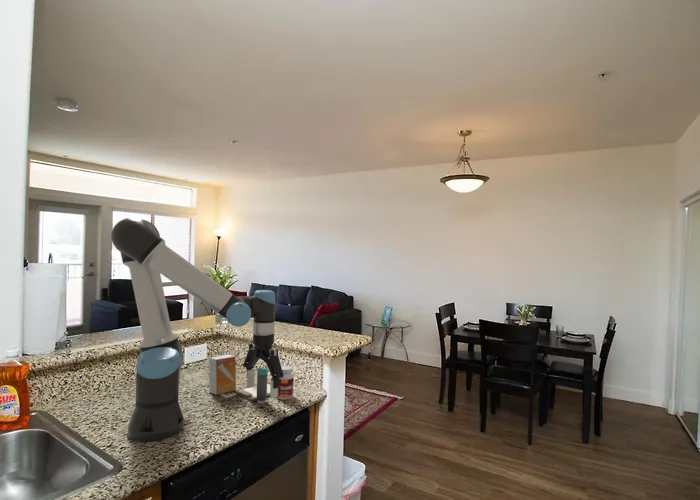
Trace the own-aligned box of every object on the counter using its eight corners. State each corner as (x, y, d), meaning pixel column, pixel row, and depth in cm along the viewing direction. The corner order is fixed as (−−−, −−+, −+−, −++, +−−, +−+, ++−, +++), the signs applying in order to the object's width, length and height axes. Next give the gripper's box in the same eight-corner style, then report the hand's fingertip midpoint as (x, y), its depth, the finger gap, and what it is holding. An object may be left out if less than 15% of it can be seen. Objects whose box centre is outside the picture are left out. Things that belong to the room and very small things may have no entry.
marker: (260, 405, 139) (261, 371, 139) (254, 402, 142) (255, 369, 142) (268, 402, 142) (269, 369, 142) (262, 399, 144) (263, 367, 144)
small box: (216, 395, 145) (215, 359, 146) (209, 392, 150) (208, 357, 151) (236, 390, 151) (235, 355, 152) (228, 387, 156) (228, 354, 157)
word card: (226, 397, 145) (226, 396, 145) (218, 394, 148) (218, 393, 148) (242, 392, 150) (242, 391, 150) (234, 389, 154) (234, 388, 154)
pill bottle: (279, 401, 143) (280, 371, 143) (273, 395, 149) (274, 366, 149) (295, 398, 147) (296, 369, 147) (289, 393, 152) (289, 364, 152)
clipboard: (252, 401, 142) (252, 398, 142) (232, 392, 150) (232, 388, 150) (286, 390, 154) (286, 387, 154) (265, 382, 163) (266, 379, 163)
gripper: (294, 337, 137) (292, 398, 137) (251, 326, 153) (249, 381, 153) (277, 340, 131) (275, 404, 131) (234, 329, 147) (233, 385, 147)
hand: (261, 392), depth 142 cm, fingers open, 13 cm apart
